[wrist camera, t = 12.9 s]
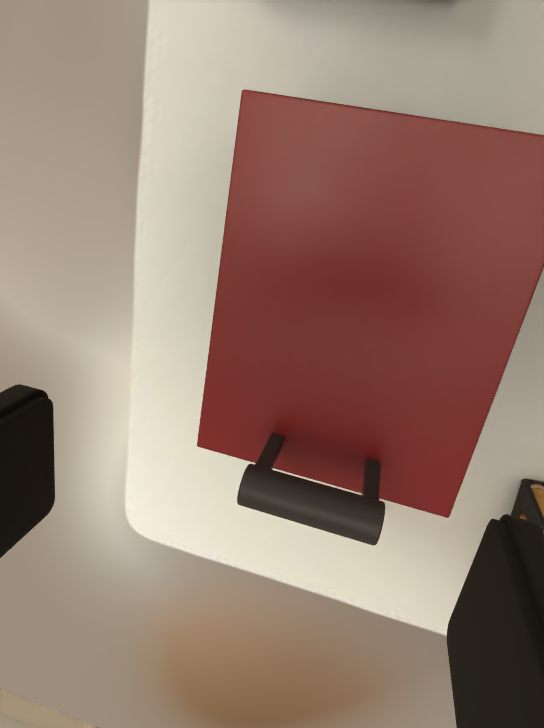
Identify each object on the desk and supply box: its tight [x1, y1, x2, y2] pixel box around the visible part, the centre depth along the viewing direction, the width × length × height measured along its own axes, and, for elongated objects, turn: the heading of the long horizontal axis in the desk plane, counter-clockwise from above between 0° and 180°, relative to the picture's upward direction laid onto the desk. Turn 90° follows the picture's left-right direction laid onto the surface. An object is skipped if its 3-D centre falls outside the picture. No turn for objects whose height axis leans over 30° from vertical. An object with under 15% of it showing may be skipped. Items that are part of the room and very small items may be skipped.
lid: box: [197, 90, 544, 545], centre depth 20 cm, size 17×14×6 cm
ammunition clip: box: [511, 479, 544, 533], centre depth 29 cm, size 11×2×12 cm, turn 175°
